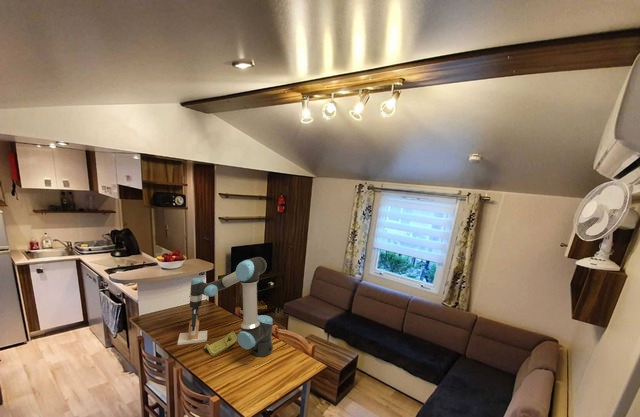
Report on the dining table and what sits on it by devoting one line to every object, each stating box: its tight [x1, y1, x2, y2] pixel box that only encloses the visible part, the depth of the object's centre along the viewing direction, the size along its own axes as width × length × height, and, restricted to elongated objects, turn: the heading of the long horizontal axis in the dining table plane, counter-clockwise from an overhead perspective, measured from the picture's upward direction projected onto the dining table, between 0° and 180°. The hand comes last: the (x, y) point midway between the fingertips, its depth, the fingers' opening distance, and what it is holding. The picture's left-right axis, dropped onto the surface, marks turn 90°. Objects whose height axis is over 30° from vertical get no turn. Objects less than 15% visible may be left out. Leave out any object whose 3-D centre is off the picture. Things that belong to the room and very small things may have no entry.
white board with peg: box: [177, 330, 208, 346], centre depth 182 cm, size 12×18×6 cm, turn 111°
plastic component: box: [203, 330, 238, 356], centre depth 175 cm, size 20×7×10 cm
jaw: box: [187, 319, 200, 340], centre depth 182 cm, size 7×6×10 cm
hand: (193, 329), depth 182 cm, fingers open, 13 cm apart
